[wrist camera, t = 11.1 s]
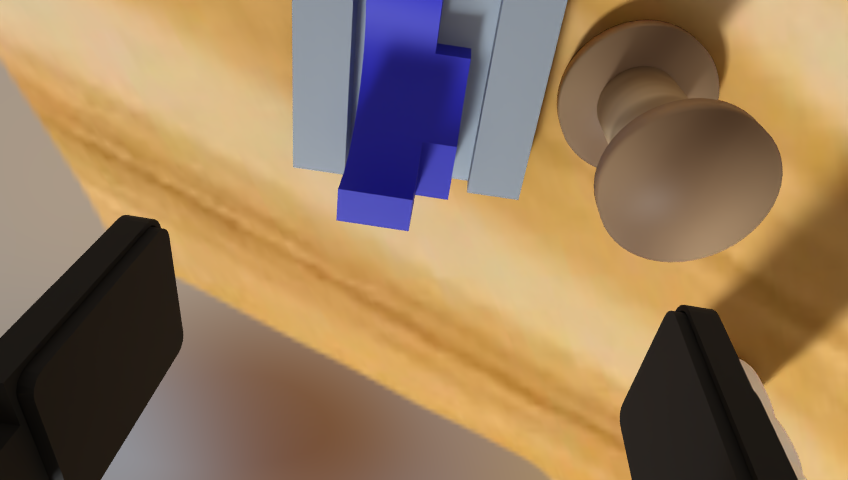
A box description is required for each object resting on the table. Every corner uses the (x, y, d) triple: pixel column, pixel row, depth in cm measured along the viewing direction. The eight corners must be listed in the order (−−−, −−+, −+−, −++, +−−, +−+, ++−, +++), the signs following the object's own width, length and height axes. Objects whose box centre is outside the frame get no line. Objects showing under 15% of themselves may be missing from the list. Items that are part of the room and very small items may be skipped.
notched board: (591, -144, 23) (602, -142, 21) (515, 176, 31) (518, 199, 29) (307, -186, 23) (291, -188, 21) (305, 145, 31) (293, 167, 29)
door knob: (737, 32, 26) (840, 111, 19) (679, 173, 30) (744, 284, 22) (579, 9, 26) (618, 79, 18) (541, 153, 30) (561, 258, 22)
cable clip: (450, 169, 29) (444, 236, 25) (360, 155, 29) (336, 220, 24) (498, -109, 23) (503, -93, 18) (381, -127, 23) (353, -116, 18)
